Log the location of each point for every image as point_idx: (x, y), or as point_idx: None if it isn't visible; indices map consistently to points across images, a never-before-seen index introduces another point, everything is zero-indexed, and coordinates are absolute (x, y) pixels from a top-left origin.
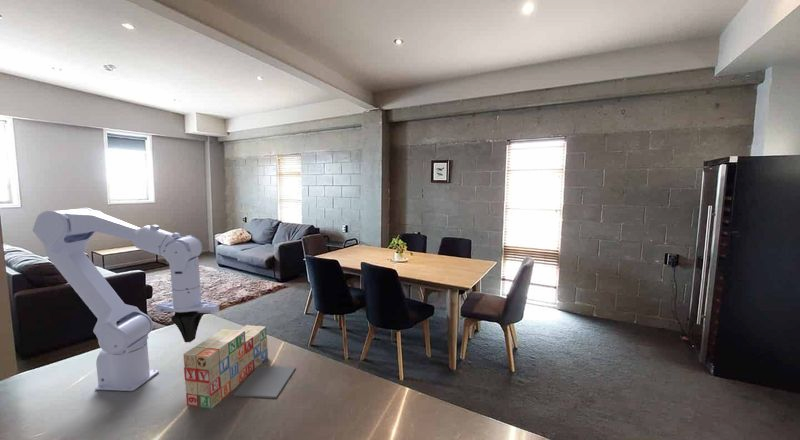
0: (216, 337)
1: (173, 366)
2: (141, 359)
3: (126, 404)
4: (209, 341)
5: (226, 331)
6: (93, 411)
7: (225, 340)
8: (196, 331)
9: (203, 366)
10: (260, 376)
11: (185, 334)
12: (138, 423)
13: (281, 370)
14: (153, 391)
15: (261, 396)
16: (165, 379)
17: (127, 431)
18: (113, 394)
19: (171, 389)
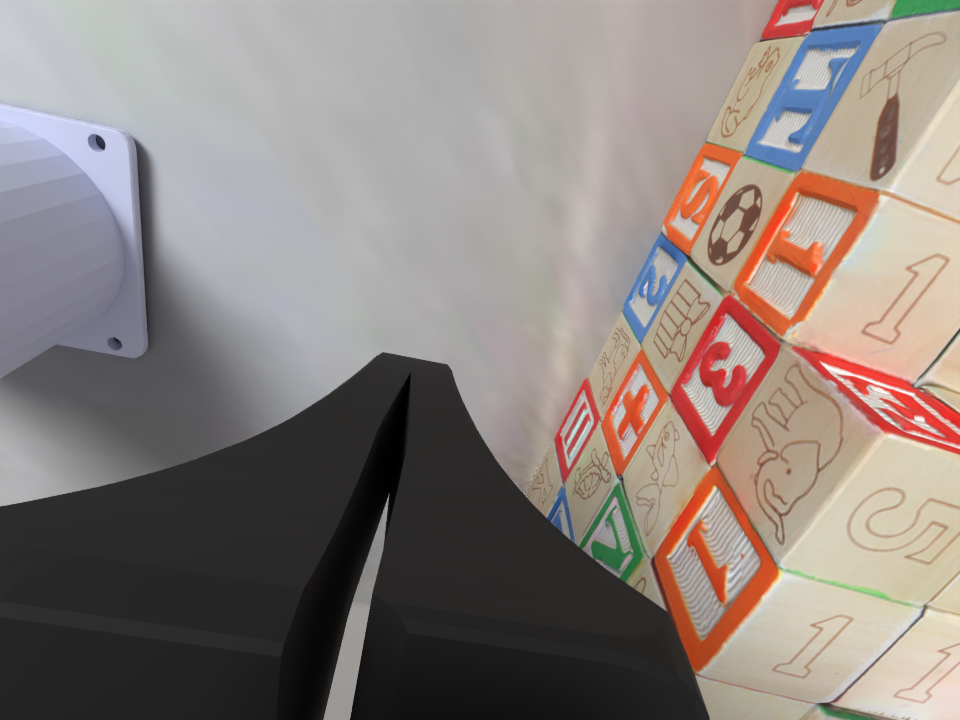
0: (813, 641)
1: (185, 43)
2: (1, 334)
3: (212, 449)
4: (746, 699)
5: (937, 519)
6: (93, 476)
7: (920, 703)
8: (462, 404)
9: None
10: None
11: (374, 534)
12: (374, 566)
13: None
14: (273, 362)
15: None
16: (256, 241)
17: (361, 597)
18: (54, 359)
19: (370, 357)
